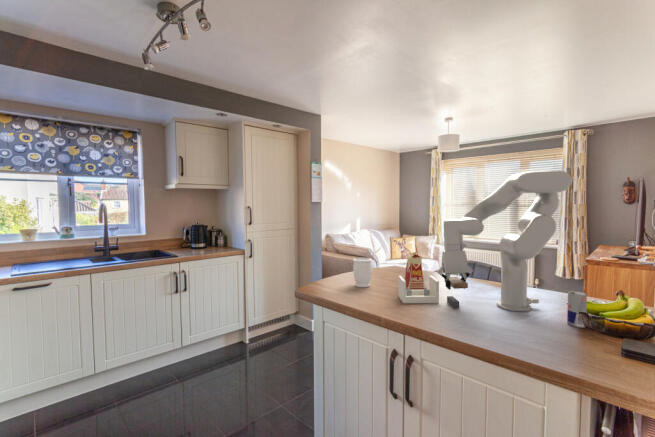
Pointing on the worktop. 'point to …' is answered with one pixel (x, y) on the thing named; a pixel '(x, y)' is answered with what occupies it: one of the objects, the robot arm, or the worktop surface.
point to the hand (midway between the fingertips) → (455, 287)
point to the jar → (362, 271)
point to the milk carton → (414, 273)
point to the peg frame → (419, 292)
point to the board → (457, 283)
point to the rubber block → (453, 302)
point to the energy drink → (576, 308)
